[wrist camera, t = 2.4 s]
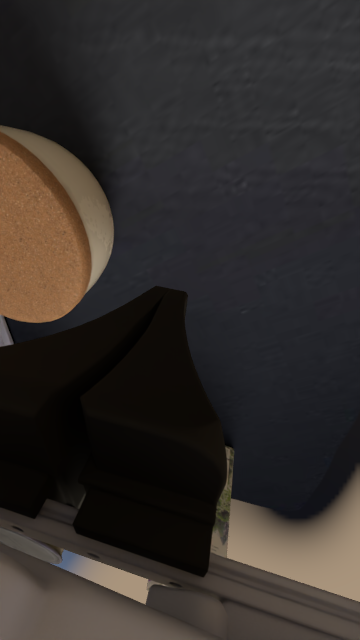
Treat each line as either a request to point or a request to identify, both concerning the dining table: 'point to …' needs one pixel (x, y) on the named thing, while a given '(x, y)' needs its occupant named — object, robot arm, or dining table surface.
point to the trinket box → (48, 228)
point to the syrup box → (219, 515)
